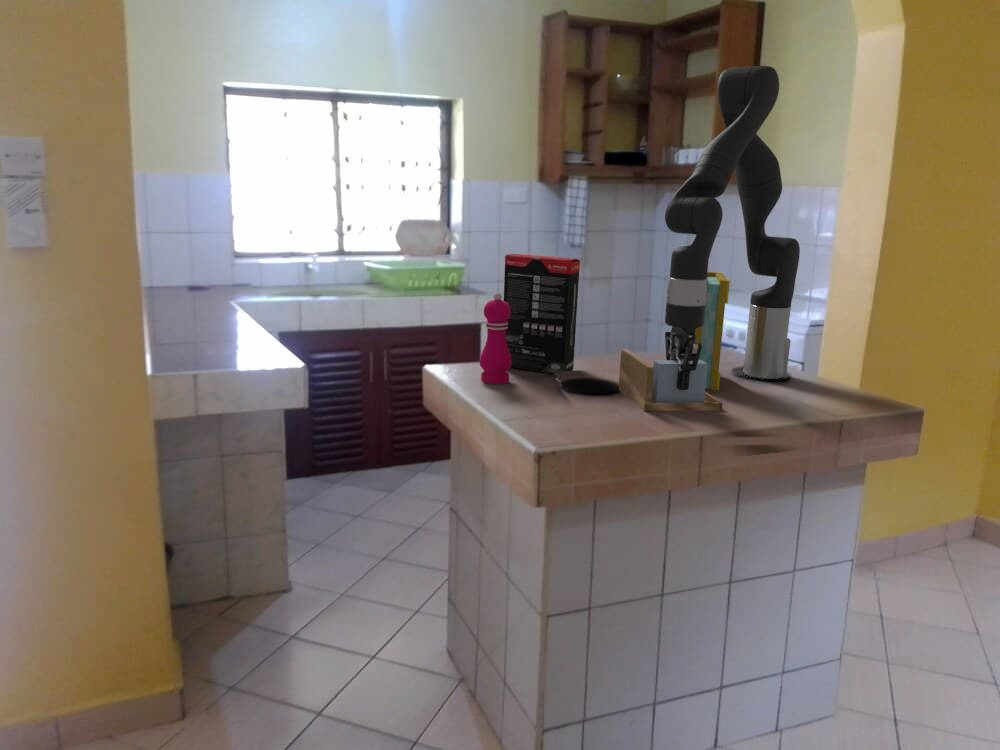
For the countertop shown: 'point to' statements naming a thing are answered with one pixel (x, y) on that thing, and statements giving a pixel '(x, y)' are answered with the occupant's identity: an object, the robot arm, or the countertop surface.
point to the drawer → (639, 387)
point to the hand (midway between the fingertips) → (678, 386)
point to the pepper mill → (496, 342)
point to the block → (667, 383)
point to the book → (713, 326)
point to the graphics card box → (541, 311)
